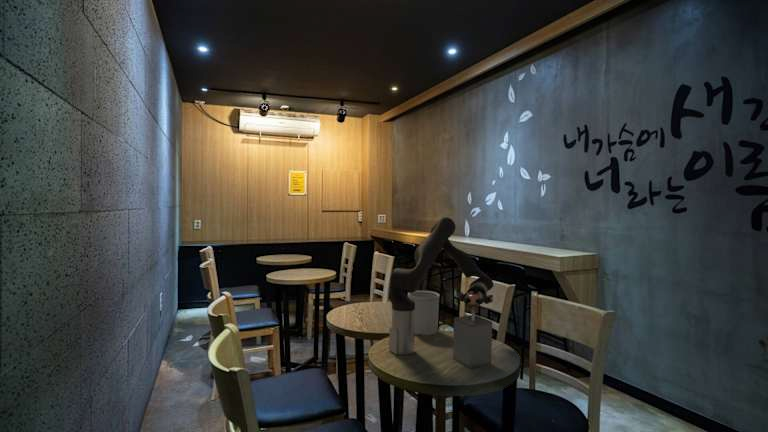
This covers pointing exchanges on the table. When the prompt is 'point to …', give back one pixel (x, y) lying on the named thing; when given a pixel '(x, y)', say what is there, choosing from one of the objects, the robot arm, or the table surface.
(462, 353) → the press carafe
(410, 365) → the table surface
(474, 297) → the plunger
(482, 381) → the table surface
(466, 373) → the table surface
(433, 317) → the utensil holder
